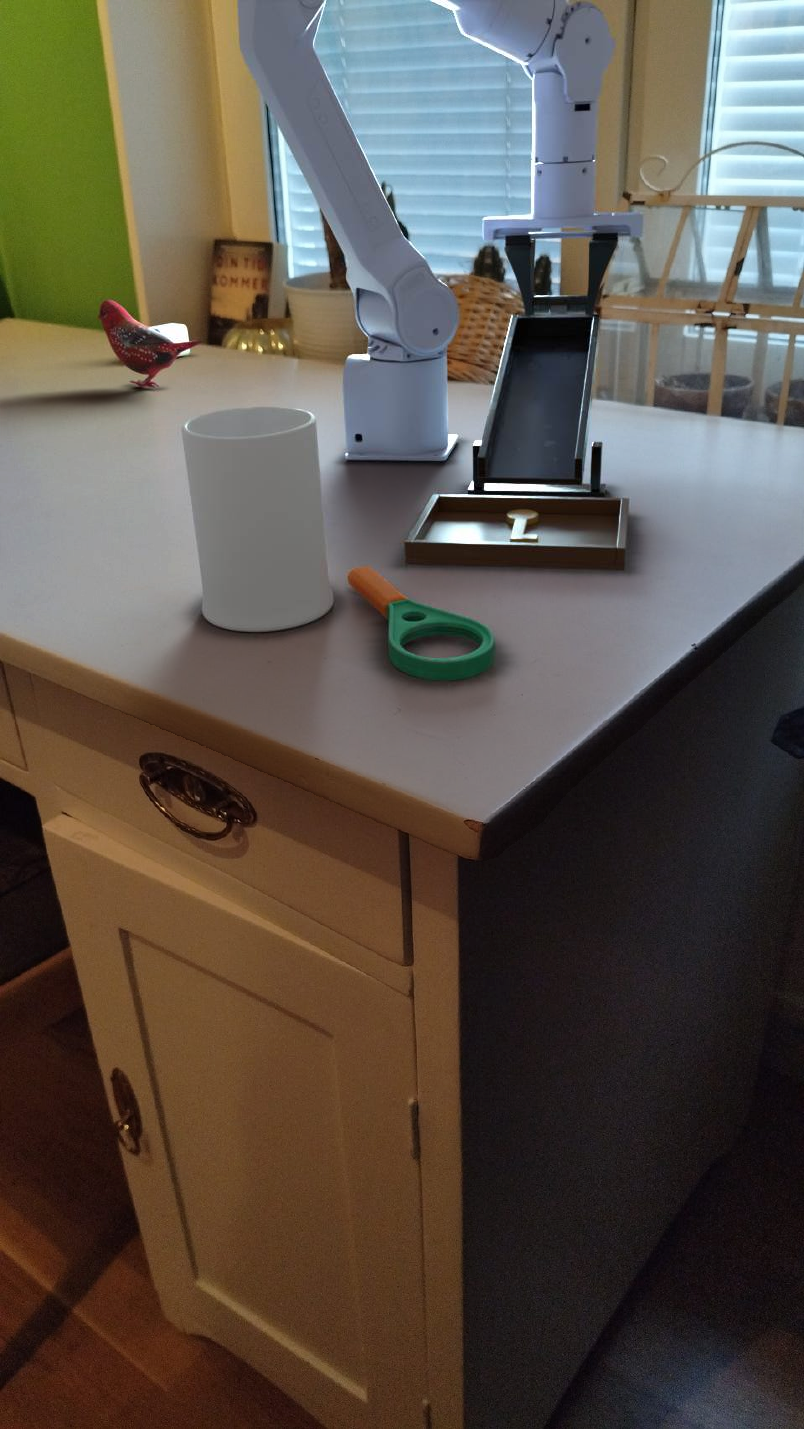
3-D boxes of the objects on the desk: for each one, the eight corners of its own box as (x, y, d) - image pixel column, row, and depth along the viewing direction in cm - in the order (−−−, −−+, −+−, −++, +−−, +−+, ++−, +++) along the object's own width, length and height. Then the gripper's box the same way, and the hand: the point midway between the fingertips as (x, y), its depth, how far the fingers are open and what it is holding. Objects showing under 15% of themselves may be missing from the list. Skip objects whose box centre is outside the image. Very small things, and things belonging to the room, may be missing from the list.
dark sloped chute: (478, 484, 86) (477, 457, 84) (519, 311, 107) (518, 287, 105) (582, 485, 85) (582, 458, 83) (602, 310, 105) (603, 285, 103)
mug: (169, 585, 76) (142, 409, 70) (283, 560, 79) (266, 390, 74) (230, 644, 67) (205, 447, 61) (356, 613, 70) (343, 424, 64)
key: (499, 545, 79) (499, 538, 79) (508, 515, 85) (508, 508, 85) (537, 546, 79) (537, 539, 78) (543, 515, 84) (543, 509, 84)
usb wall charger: (190, 355, 153) (186, 325, 151) (149, 363, 149) (144, 332, 147) (173, 352, 155) (169, 322, 153) (132, 360, 151) (127, 330, 149)
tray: (405, 563, 78) (404, 541, 77) (432, 513, 87) (432, 493, 87) (624, 570, 75) (625, 548, 74) (628, 518, 84) (629, 497, 84)
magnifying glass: (515, 666, 62) (516, 639, 62) (419, 690, 60) (418, 662, 59) (402, 581, 75) (401, 558, 74) (319, 599, 72) (317, 575, 72)
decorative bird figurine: (117, 380, 140) (103, 297, 136) (217, 393, 131) (206, 304, 126) (99, 384, 138) (85, 300, 134) (199, 398, 129) (188, 308, 124)
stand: (467, 494, 91) (466, 446, 89) (471, 486, 93) (471, 439, 92) (604, 497, 89) (606, 448, 87) (605, 488, 91) (607, 440, 89)
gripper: (646, 157, 101) (638, 313, 107) (489, 163, 104) (490, 315, 110) (646, 160, 95) (636, 325, 101) (479, 166, 98) (480, 327, 104)
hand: (560, 320), depth 105 cm, fingers closed on dark sloped chute, 5 cm apart
